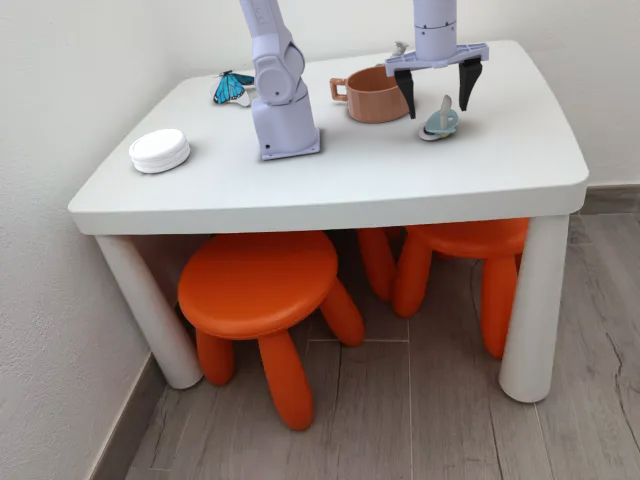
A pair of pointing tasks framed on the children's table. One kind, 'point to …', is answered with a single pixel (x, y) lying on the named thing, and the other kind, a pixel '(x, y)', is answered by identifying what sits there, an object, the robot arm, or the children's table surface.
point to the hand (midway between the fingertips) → (437, 112)
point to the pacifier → (440, 122)
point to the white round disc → (159, 150)
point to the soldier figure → (397, 50)
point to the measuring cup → (371, 95)
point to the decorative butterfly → (231, 88)
